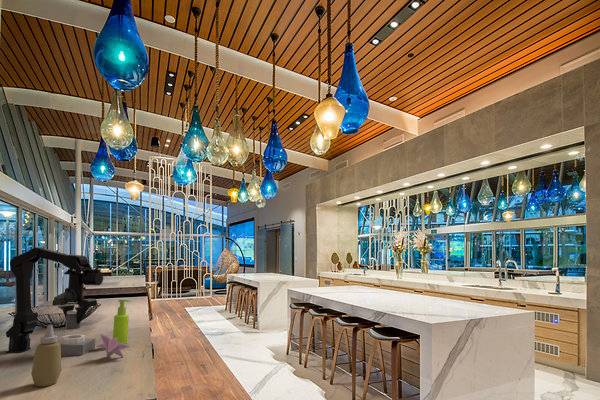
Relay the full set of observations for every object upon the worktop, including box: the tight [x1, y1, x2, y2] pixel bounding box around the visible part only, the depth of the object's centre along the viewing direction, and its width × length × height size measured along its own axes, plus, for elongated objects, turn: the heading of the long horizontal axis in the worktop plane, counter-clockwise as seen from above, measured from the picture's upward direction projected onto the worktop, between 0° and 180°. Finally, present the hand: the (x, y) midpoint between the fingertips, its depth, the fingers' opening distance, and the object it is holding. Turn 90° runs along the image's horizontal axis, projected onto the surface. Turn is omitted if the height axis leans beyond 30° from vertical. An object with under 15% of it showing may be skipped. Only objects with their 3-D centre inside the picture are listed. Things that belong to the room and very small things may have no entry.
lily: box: [95, 333, 130, 363], centre depth 151 cm, size 12×12×10 cm
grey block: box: [65, 309, 81, 330], centre depth 164 cm, size 5×5×7 cm
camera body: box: [57, 334, 97, 357], centre depth 163 cm, size 14×12×6 cm
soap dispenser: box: [112, 299, 132, 345], centre depth 174 cm, size 6×7×20 cm
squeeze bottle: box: [30, 324, 62, 387], centre depth 125 cm, size 8×8×18 cm
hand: (73, 323), depth 164 cm, fingers closed on grey block, 5 cm apart
